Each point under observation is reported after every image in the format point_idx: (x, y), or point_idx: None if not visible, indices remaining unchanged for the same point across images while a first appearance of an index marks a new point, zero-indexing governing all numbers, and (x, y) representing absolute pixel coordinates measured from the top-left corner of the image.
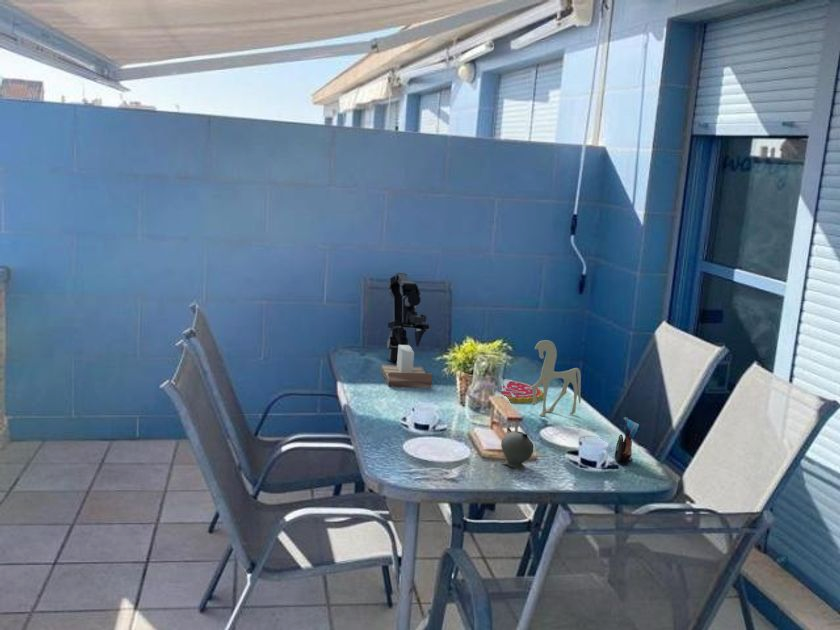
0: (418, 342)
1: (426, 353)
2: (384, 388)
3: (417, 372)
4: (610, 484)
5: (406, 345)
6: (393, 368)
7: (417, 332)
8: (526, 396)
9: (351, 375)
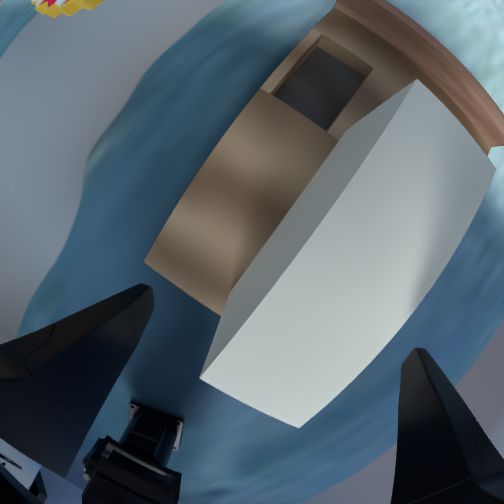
0: (120, 304)
1: None
2: None
3: (269, 160)
4: None
5: (241, 385)
6: None
7: (40, 441)
8: None
9: (471, 339)
